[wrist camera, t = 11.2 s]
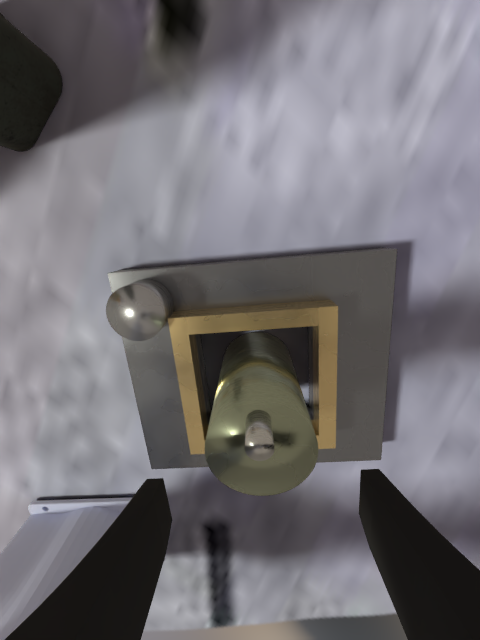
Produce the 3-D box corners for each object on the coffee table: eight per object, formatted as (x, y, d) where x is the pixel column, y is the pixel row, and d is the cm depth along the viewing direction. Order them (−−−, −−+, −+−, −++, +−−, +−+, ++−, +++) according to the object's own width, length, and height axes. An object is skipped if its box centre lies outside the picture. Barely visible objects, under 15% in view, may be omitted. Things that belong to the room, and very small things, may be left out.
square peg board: (158, 453, 22) (141, 494, 18) (119, 270, 17) (88, 278, 14) (371, 443, 21) (395, 485, 17) (384, 247, 16) (418, 251, 13)
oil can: (226, 395, 20) (206, 532, 11) (219, 334, 18) (189, 432, 9) (292, 391, 20) (328, 529, 10) (290, 329, 18) (328, 425, 9)
